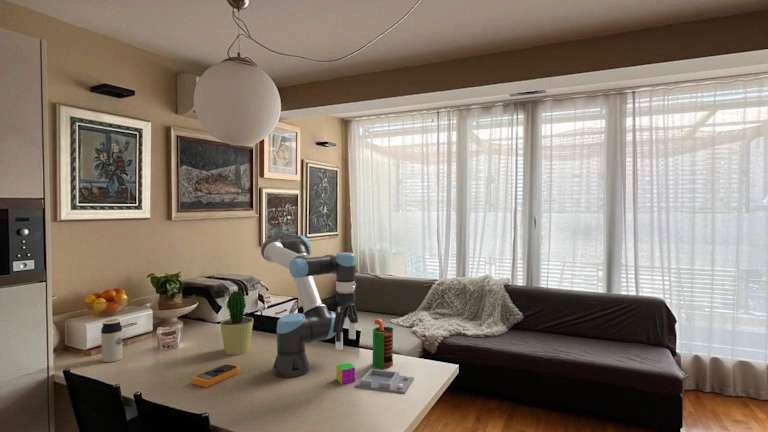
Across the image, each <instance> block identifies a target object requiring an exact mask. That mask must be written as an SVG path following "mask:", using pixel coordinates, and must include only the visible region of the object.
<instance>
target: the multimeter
mask: <svg viewBox="0 0 768 432" xmlns="http://www.w3.org/2000/svg"><path fill="white" fill-rule="evenodd" d="M240 368H241V367H240V365H237V364H234V363H224V364H221V365H219V366H216V367H214V368H211V369H209V370H207V371H205V372H202V373H200V374H196V375H193V376H192V384H194V385H195V386H199V387H201V388H206V389H207V388H209V387H211V386H213V385H215V384H218V383H220V382H221V381H225V380H227V379H229V378H232V377H234V376H236V374H237V375H239V373H240Z"/></svg>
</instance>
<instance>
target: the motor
mask: <svg viewBox="0 0 768 432" xmlns="http://www.w3.org/2000/svg"><path fill="white" fill-rule="evenodd" d="M374 325H378V326H377V327H373V329H372V367H373V368H374V369H378V370H384V369H389V367H390V368H392V367H393V365H394V359H393V358H394V357H393V356H394V355H393V354H394V353H393V351H394V350H393V349H394V327H392V326H387V325H386V326H384V323H383V320H382V319H381V318H375V319H374ZM391 366H392V367H391Z"/></svg>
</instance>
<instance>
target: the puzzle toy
mask: <svg viewBox="0 0 768 432" xmlns="http://www.w3.org/2000/svg"><path fill="white" fill-rule="evenodd" d="M335 370H336V380H337V381H338V382H339V383H340V384H341V385H344V384H348V383H353V382H356V367H355V366H354V365H353V364H352V363H351V362H347V363H341V364H336V369H335Z"/></svg>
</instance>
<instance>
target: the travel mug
mask: <svg viewBox="0 0 768 432" xmlns="http://www.w3.org/2000/svg"><path fill="white" fill-rule="evenodd" d="M121 321H122V319H121V318H110V319H106V320H103V321H101V324H102V327H101V330H100V331H101V333H100V335H101V361H102V362H104V363H113V362H117V361H119V360H122V359H123V326H122V324H121Z"/></svg>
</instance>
